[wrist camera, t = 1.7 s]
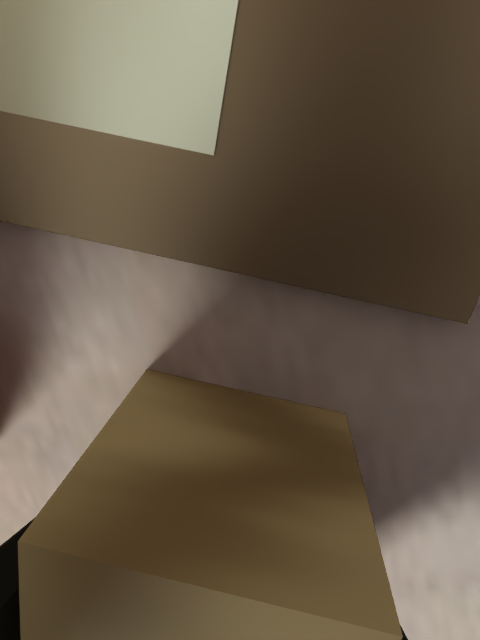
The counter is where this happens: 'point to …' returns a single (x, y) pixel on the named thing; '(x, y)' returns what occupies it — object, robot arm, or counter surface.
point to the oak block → (208, 527)
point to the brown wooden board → (255, 138)
